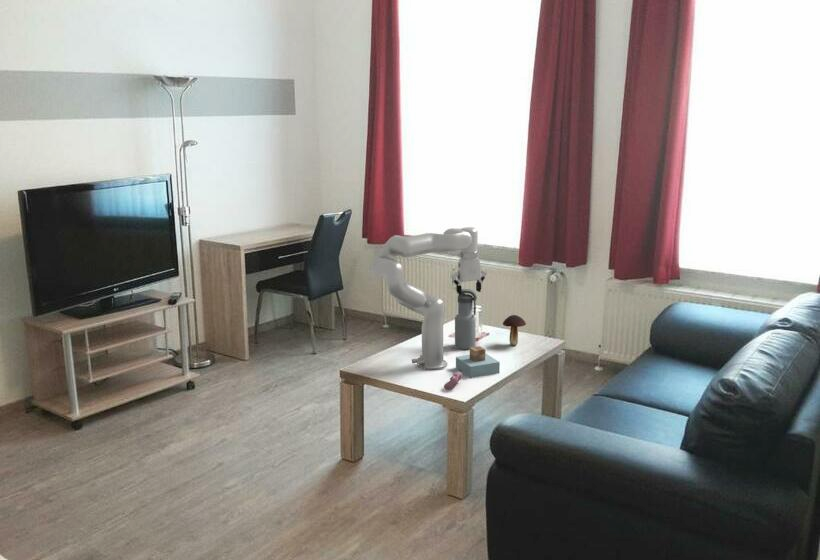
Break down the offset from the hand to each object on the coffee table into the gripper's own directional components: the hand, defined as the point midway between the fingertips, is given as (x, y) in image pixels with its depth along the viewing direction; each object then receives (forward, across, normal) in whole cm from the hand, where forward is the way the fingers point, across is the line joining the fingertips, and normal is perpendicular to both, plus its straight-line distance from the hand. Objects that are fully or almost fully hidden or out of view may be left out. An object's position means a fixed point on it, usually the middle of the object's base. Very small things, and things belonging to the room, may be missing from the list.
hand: (468, 292), depth 333 cm
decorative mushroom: (+31, +27, +5) cm, 41 cm away
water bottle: (+31, +5, +13) cm, 34 cm away
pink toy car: (+31, -22, -30) cm, 48 cm away
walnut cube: (+25, -5, -18) cm, 31 cm away
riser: (+30, -5, -18) cm, 36 cm away
